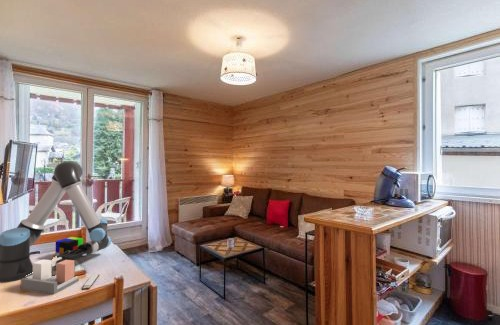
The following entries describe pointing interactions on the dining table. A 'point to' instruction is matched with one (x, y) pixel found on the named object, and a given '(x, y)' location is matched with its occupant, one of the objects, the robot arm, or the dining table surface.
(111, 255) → the dining table surface
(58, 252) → the puzzle toy
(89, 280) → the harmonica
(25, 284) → the base
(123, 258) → the dining table surface
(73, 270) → the salmon pink block
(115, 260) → the dining table surface
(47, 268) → the white rectangular block
